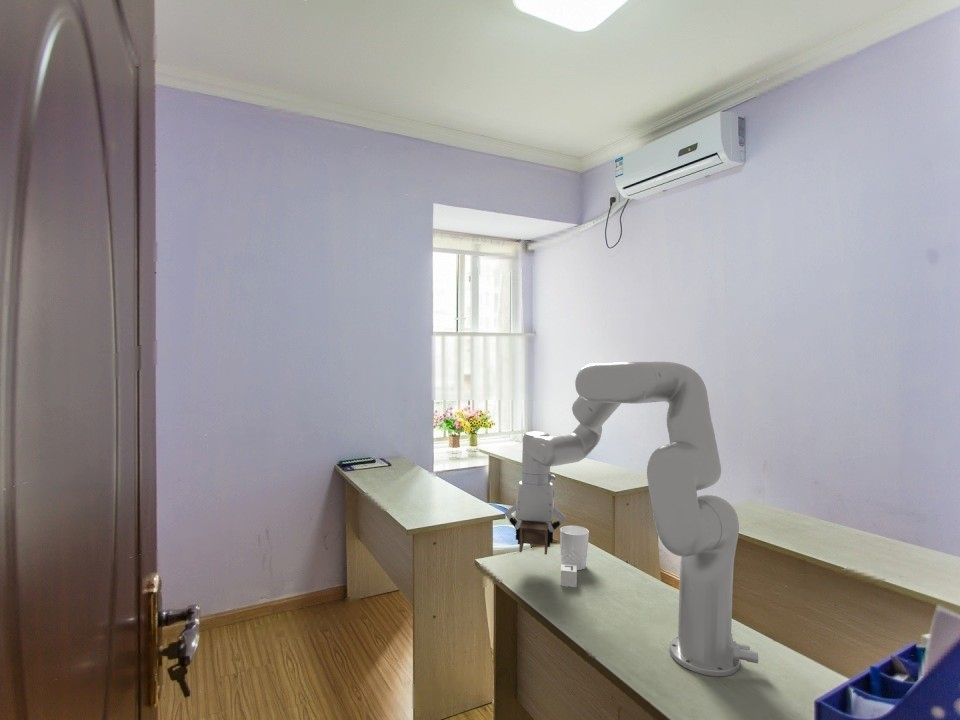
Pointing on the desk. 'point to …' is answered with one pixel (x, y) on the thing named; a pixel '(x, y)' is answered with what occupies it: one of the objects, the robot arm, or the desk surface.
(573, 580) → the cube
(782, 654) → the desk surface
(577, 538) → the white cup
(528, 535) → the brown open box
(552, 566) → the desk surface
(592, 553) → the desk surface
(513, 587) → the desk surface
